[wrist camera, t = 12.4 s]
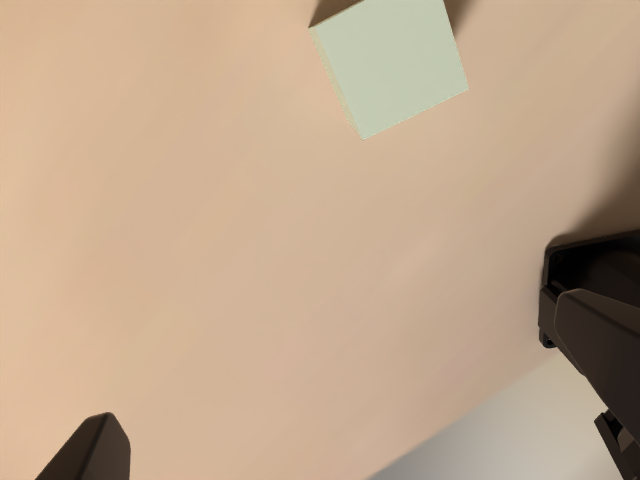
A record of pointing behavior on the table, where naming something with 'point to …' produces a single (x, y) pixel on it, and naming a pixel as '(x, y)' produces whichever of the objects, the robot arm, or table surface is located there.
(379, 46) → the sage green cube
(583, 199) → the table surface
